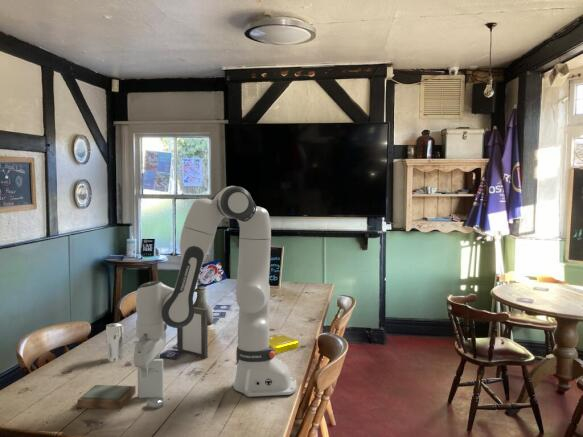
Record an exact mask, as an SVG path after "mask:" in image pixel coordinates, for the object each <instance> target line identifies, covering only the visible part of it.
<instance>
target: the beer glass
mask: <svg viewBox="0 0 583 437" xmlns="http://www.w3.org/2000/svg"><path fill="white" fill-rule="evenodd" d="M105 326H106V327H105V342H106V348H107V352H108V354H107V355H108V356H107V362H109V363H118V362H120V361H123V359H124V356H123V347H124V342H125V328H124V323H121V322H115V323H114V322H113V323H109V324H106V325H105Z"/></svg>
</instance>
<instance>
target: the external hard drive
mask: <svg viewBox="0 0 583 437" xmlns="http://www.w3.org/2000/svg"><path fill="white" fill-rule="evenodd" d="M147 368H148V370H149V375H148V376H147V377H142V371H141V369H140V367H137V398H138V399H144V398H148V399H150V398H154V397H160V398H163V397H164V359H163V358H159V359H153V360H152V361H151V362H150V363H149V364H148V367H147Z"/></svg>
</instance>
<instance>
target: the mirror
mask: <svg viewBox="0 0 583 437" xmlns="http://www.w3.org/2000/svg"><path fill="white" fill-rule="evenodd" d="M135 395H136V385H134V386H133V385H111V384H110V385H109V384H106V385H105V384H95V385H94V386H92V387H90V389H89V390H87V391H86V393H84V394H83V395H82V396H80V398H78V399H77V408H78V409H106V410H107V409H109V410H122V409H123V408H124V406H126V404H127V403H128V402H129V401H130V400H131V399H132V398H133V397H134V396H135Z"/></svg>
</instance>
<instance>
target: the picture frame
mask: <svg viewBox="0 0 583 437" xmlns="http://www.w3.org/2000/svg"><path fill="white" fill-rule="evenodd" d="M176 330H177V331H176V333H177V334H176V335H177V337H176V338H177V341H176V343H177V344H176V345H177V350H176V351H177V352H182V353H184V354H187V355H191V356H195V357H197V358H201V359H204V360H206V359H208V356H209V355H208V351H209V350H208V347H209V346H208V309H207V308H202V307H196V306H194V317H193V319H192V321H191V322H190V323H189V324H188V325H186V326H184V327H181V328H176Z"/></svg>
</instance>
